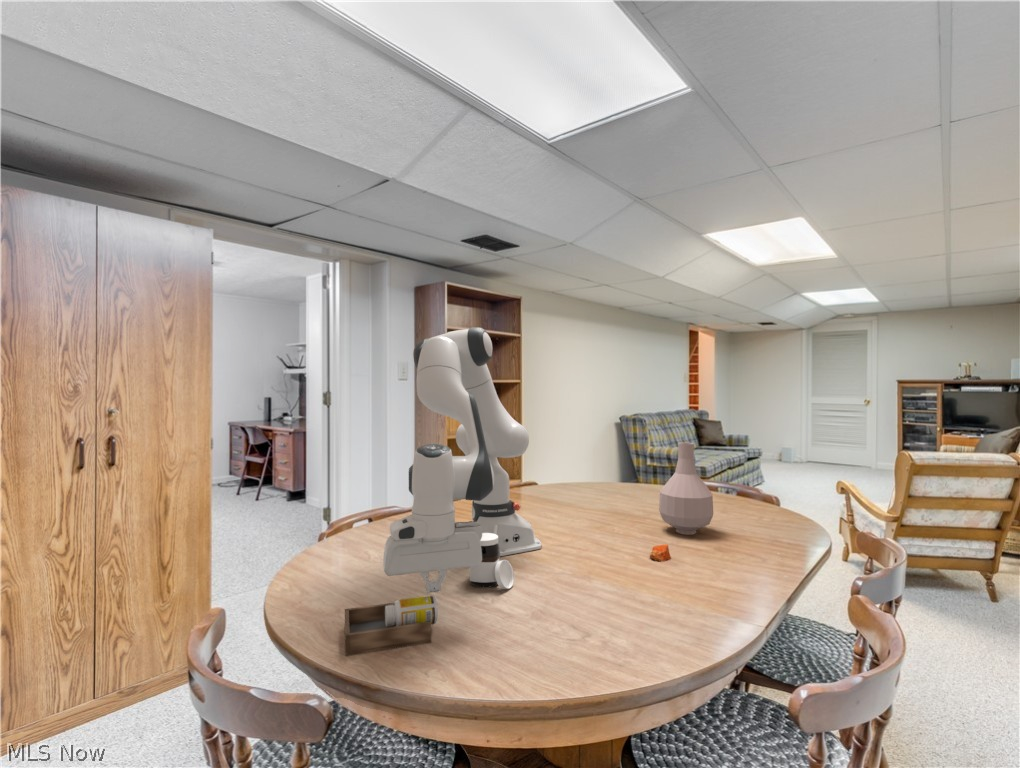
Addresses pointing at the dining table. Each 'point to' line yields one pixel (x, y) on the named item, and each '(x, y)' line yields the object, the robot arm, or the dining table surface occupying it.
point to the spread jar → (491, 566)
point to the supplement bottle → (412, 611)
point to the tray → (379, 631)
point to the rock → (660, 553)
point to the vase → (686, 495)
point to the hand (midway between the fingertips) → (433, 591)
